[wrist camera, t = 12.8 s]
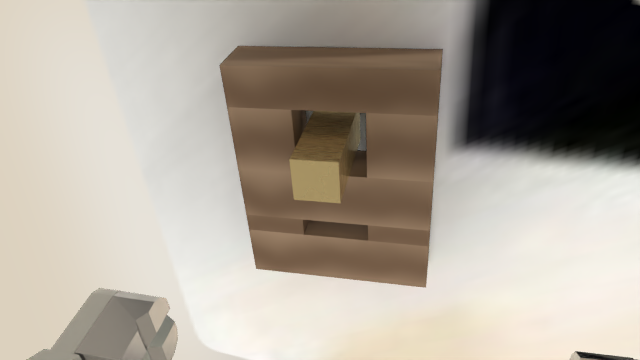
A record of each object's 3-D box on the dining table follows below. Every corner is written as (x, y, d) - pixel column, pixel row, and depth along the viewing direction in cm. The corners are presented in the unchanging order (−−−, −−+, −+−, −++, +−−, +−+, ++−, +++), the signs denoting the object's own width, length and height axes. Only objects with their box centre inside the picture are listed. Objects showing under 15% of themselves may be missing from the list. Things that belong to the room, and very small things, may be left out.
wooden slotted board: (237, 46, 37) (219, 65, 34) (442, 49, 34) (440, 70, 31) (268, 241, 47) (256, 268, 44) (428, 257, 44) (425, 287, 41)
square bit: (318, 101, 38) (289, 159, 31) (359, 102, 37) (338, 162, 31) (321, 137, 40) (294, 199, 33) (360, 139, 39) (340, 203, 32)
